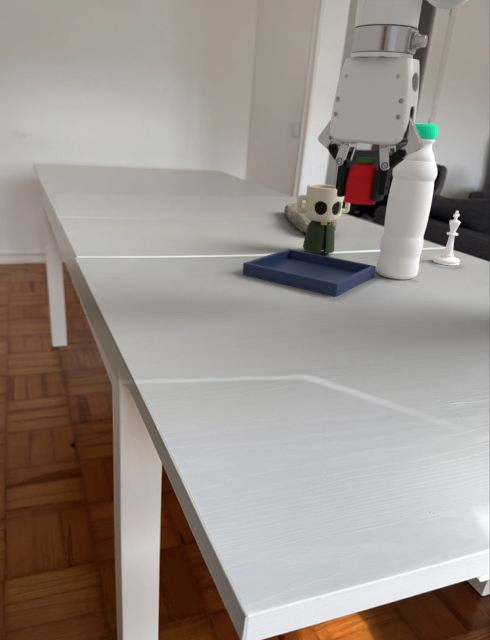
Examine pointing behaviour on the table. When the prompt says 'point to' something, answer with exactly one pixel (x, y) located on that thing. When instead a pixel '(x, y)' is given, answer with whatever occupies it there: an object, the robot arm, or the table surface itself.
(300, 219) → the elongated rock
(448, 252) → the chess piece
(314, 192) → the character mug
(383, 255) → the water bottle
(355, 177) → the red sauce bottle
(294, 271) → the tray
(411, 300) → the table surface
